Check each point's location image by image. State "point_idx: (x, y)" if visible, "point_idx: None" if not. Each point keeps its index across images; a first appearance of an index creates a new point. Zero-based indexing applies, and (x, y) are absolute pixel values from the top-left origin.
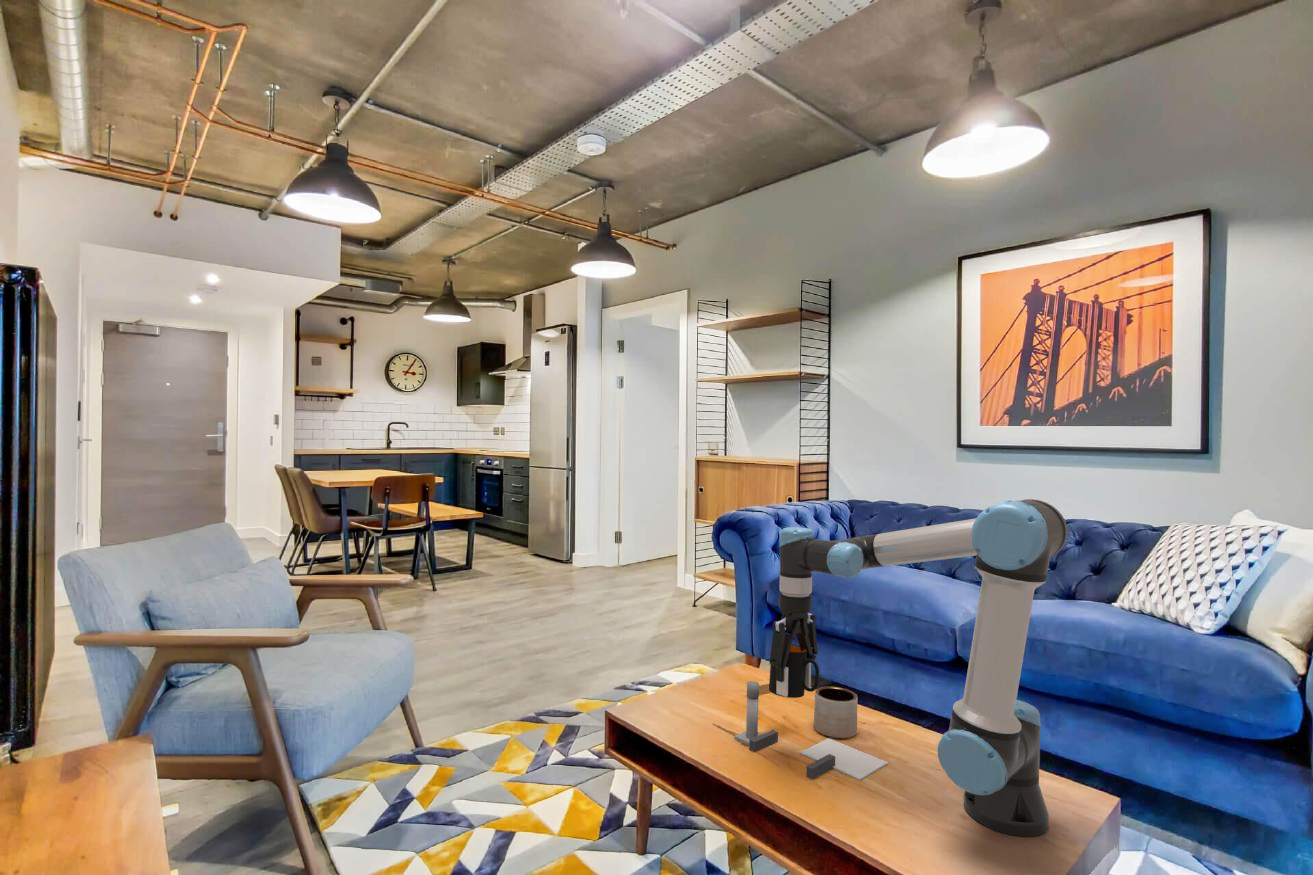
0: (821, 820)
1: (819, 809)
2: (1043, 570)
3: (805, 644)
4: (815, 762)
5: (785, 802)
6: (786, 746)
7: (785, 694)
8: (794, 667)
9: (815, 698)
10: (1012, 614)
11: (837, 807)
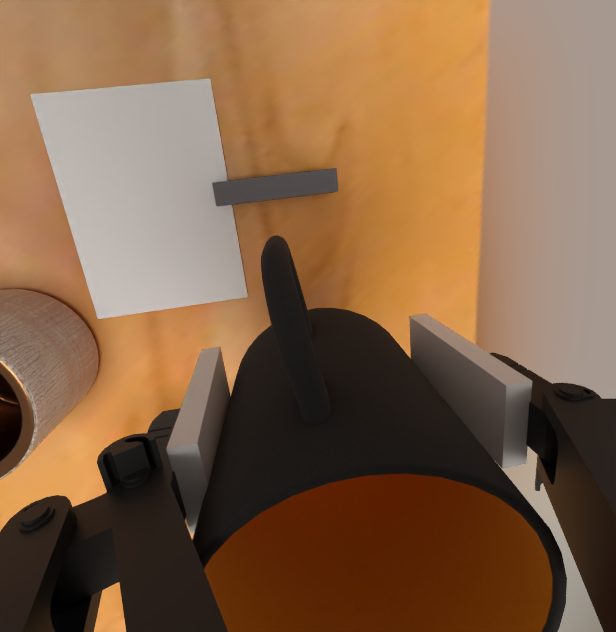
0: (472, 3)
1: (434, 45)
2: None
3: (218, 616)
4: (298, 190)
5: (474, 128)
6: (249, 345)
7: (430, 319)
8: (420, 389)
9: (40, 440)
10: None
11: (387, 19)
